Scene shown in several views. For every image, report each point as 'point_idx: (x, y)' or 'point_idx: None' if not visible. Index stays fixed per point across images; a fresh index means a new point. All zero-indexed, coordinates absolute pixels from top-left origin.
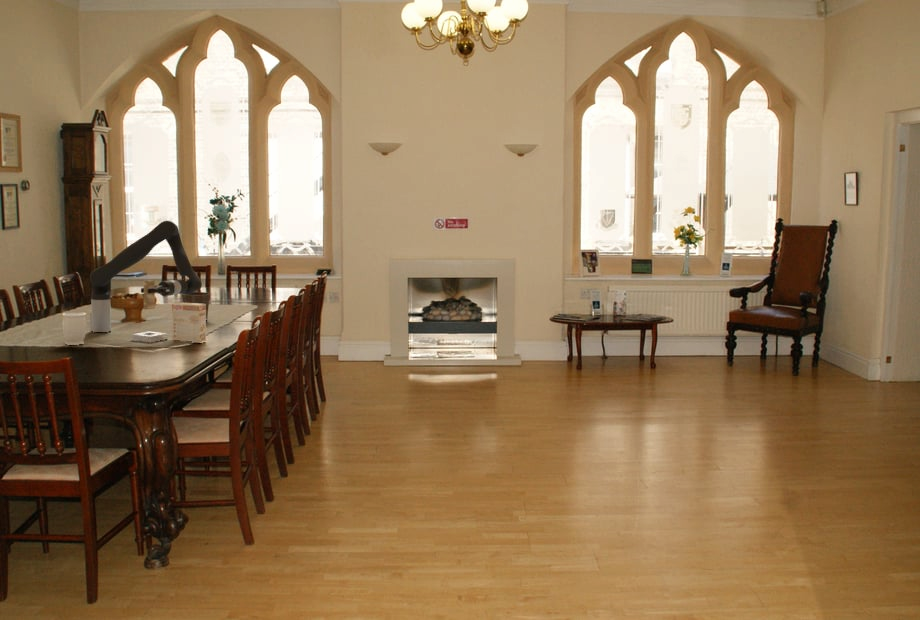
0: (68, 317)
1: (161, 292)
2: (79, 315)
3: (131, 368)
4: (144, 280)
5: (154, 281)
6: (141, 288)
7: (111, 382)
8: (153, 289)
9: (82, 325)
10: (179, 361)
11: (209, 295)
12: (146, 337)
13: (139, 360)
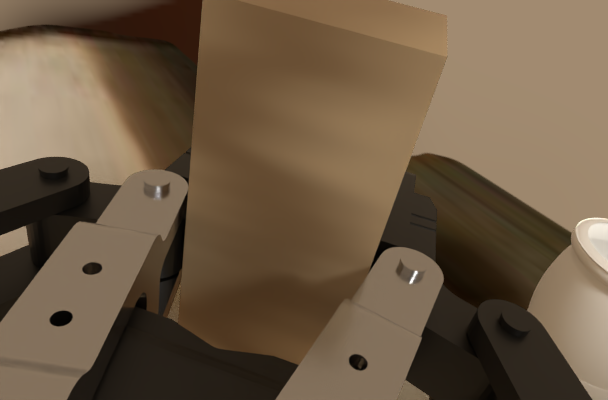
0: (603, 232)
1: (2, 258)
2: (574, 232)
3: (115, 96)
4: (417, 12)
5: (202, 32)
6: (409, 173)
7: (126, 42)
8: (182, 169)
9: (544, 287)
10: None
11: None
12: None
13: (115, 153)
